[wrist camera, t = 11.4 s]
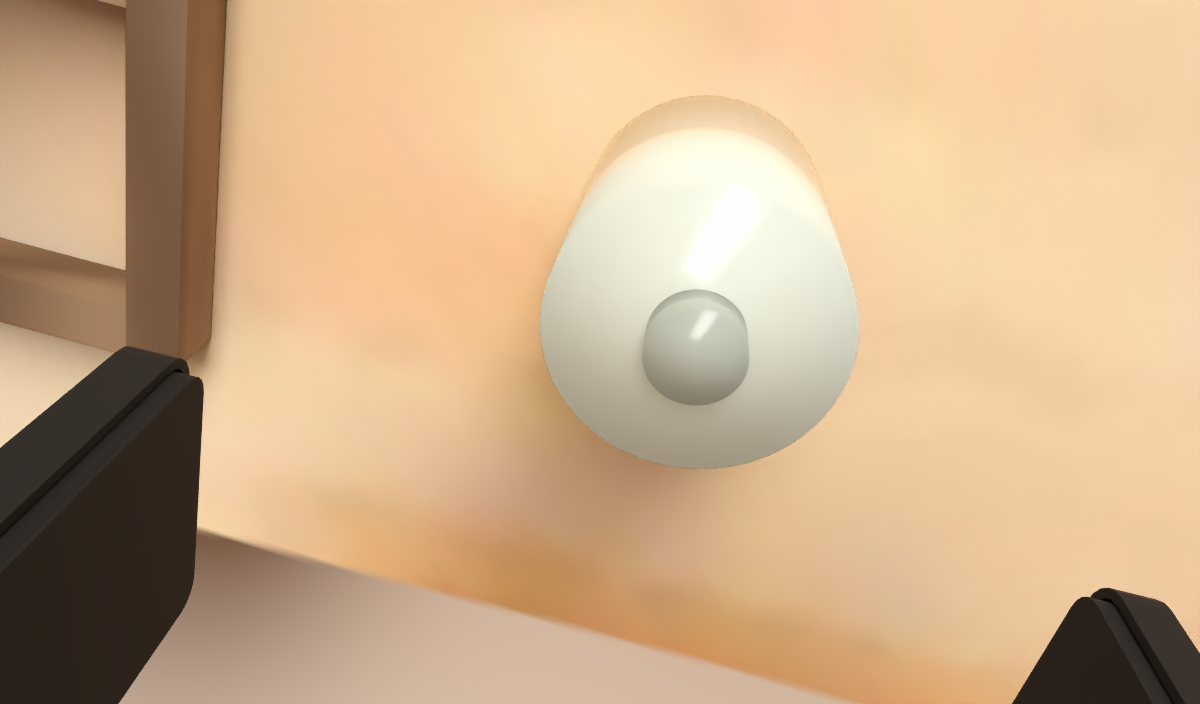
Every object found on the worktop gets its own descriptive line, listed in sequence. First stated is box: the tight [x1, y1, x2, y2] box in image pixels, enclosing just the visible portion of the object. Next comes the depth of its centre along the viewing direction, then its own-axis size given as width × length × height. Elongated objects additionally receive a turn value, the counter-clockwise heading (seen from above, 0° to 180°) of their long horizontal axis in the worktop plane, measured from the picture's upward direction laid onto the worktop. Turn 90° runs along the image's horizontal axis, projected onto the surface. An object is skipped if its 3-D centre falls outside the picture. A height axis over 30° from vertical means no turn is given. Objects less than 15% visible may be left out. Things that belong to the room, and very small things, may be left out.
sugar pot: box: [540, 96, 859, 469], centre depth 17 cm, size 5×5×7 cm
